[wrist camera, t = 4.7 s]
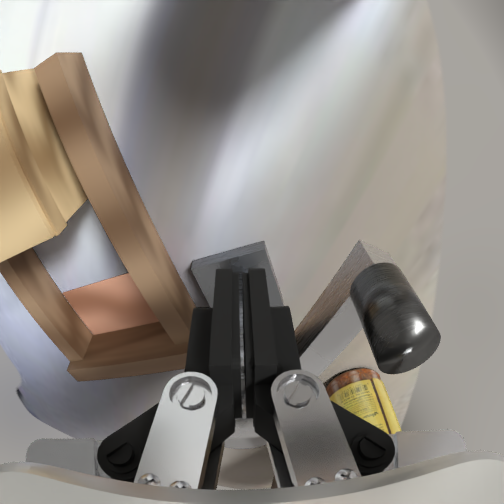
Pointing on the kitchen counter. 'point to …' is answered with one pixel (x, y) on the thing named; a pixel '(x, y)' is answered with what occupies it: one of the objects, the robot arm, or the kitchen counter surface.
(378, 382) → the sauce bottle
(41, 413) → the kitchen counter surface
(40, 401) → the kitchen counter surface
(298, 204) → the kitchen counter surface
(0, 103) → the tan wooden block
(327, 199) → the kitchen counter surface
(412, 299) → the crank
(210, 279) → the winch post
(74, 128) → the bay
